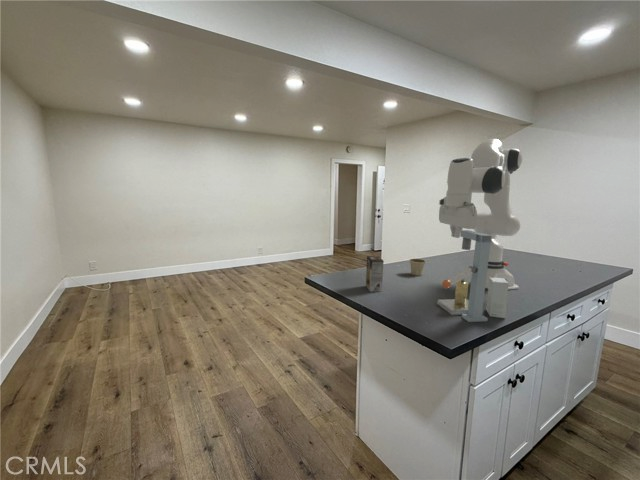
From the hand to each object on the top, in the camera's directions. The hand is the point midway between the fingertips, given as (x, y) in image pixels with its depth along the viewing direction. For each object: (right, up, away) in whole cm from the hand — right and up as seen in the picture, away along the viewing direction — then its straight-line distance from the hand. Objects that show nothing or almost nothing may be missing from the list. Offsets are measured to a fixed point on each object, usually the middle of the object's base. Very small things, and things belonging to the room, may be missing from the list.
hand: (455, 237), depth 117 cm
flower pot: (+5, -22, +64) cm, 68 cm away
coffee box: (-26, -26, +36) cm, 52 cm away
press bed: (+7, -31, +12) cm, 34 cm away
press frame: (+8, -32, +7) cm, 34 cm away
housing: (+7, -29, +12) cm, 32 cm away
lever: (+1, -17, -1) cm, 17 cm away
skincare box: (+20, -32, +8) cm, 39 cm away
